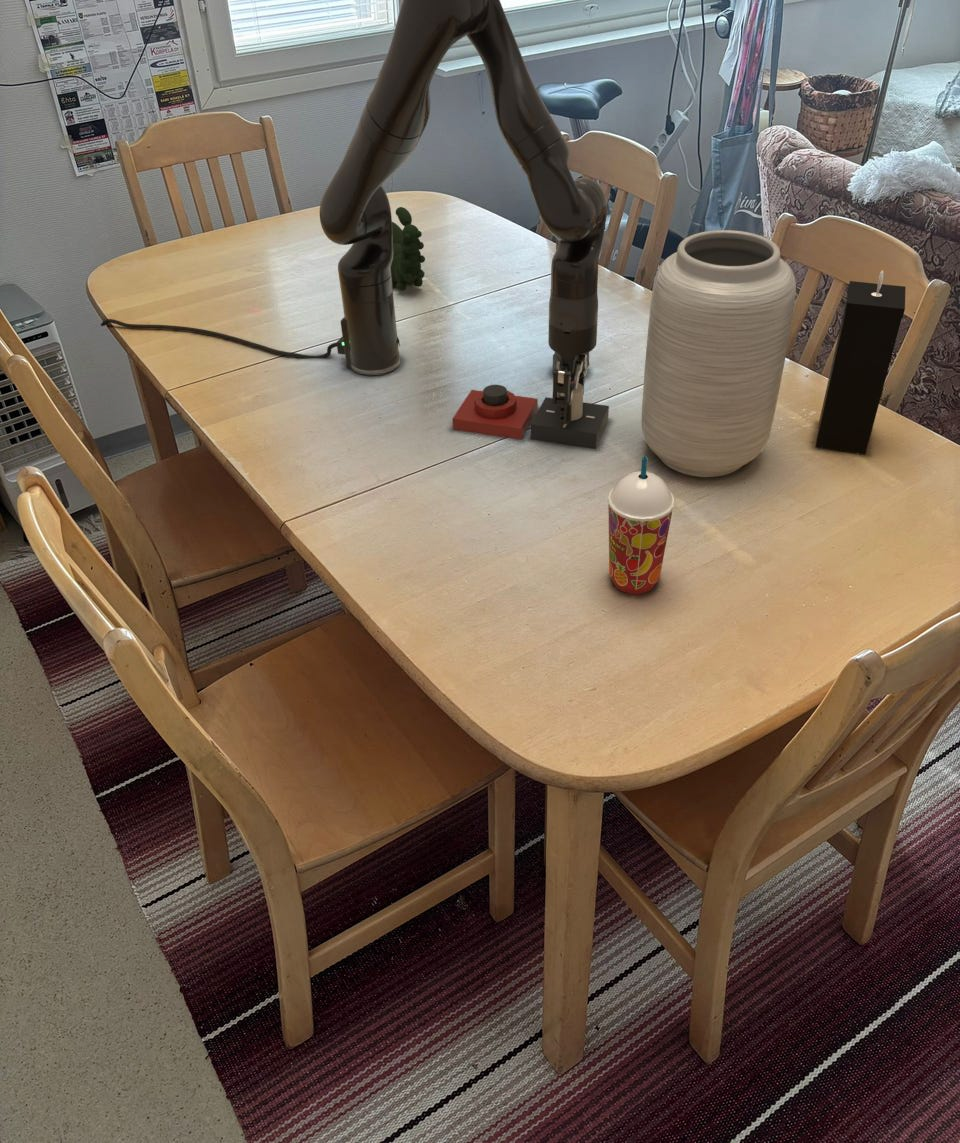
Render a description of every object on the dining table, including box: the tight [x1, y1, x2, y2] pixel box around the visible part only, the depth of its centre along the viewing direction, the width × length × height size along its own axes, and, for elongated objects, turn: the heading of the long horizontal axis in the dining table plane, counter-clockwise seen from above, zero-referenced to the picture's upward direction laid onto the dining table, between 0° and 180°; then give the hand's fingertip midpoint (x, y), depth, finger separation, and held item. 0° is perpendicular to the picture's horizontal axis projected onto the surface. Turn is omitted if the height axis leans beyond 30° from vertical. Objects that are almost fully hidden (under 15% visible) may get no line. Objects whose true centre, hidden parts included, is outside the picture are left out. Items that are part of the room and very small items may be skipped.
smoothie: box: [607, 456, 676, 595], centre depth 125 cm, size 8×8×20 cm
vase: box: [641, 229, 797, 478], centre depth 144 cm, size 20×20×34 cm
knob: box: [561, 381, 584, 421], centre depth 158 cm, size 4×4×5 cm
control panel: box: [530, 396, 610, 450], centre depth 160 cm, size 11×9×3 cm
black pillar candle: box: [814, 270, 906, 455], centre depth 147 cm, size 8×8×28 cm
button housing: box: [452, 389, 539, 441], centre depth 163 cm, size 12×10×4 cm
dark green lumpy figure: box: [391, 206, 426, 292], centre depth 205 cm, size 9×19×25 cm
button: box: [482, 384, 508, 406], centre depth 162 cm, size 4×4×2 cm
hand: (570, 409), depth 159 cm, fingers open, 8 cm apart
